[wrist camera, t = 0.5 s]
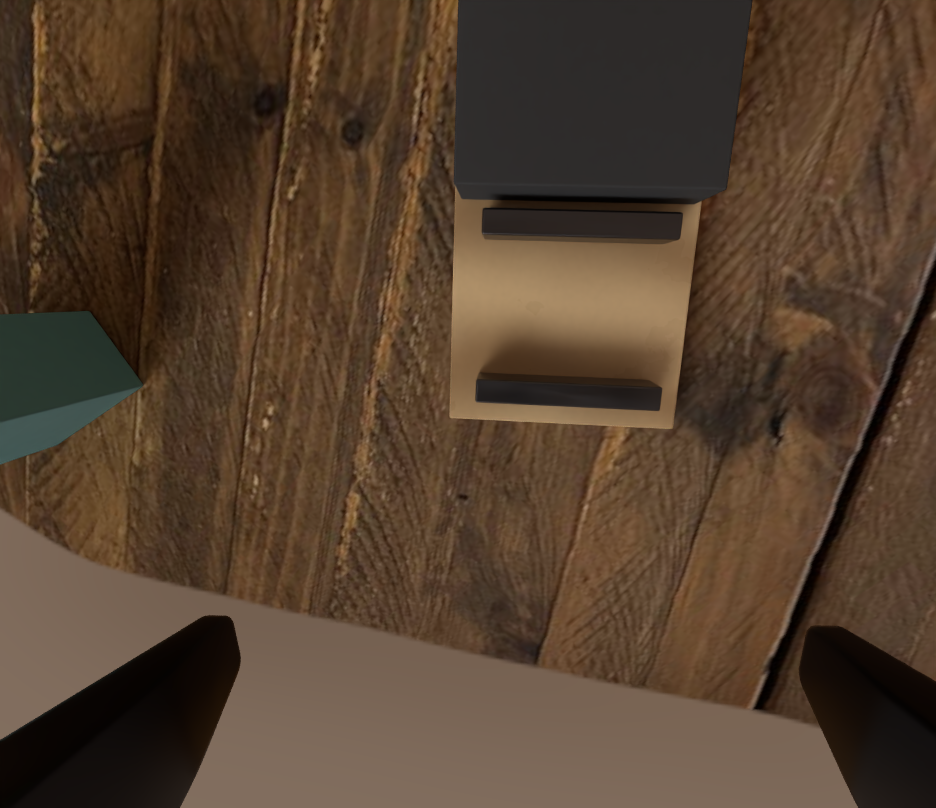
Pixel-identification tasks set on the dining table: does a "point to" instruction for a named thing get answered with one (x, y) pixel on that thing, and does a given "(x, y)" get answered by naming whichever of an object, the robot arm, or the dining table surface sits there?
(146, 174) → the dining table surface
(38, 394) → the back pad
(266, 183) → the dining table surface
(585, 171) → the seat frame
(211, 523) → the dining table surface
